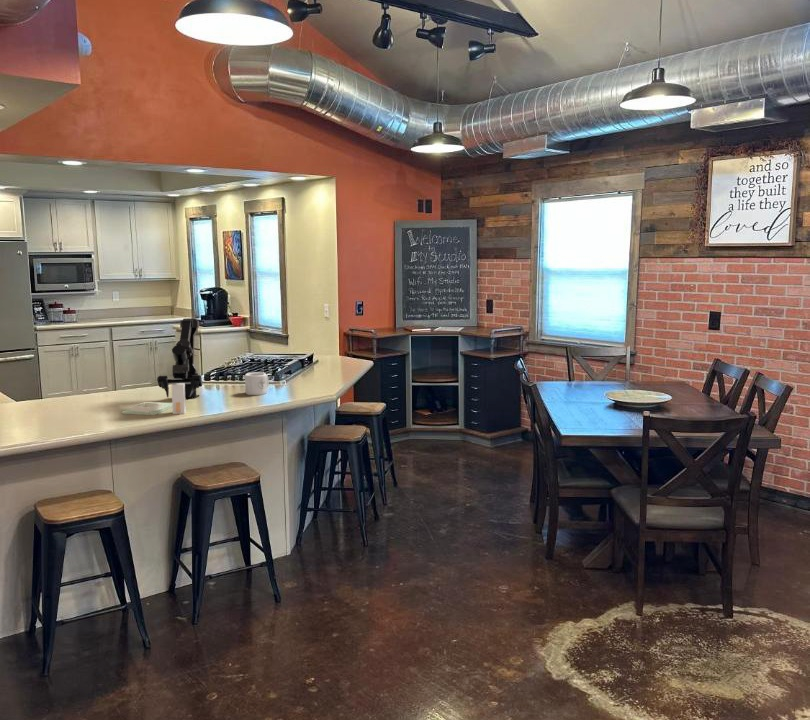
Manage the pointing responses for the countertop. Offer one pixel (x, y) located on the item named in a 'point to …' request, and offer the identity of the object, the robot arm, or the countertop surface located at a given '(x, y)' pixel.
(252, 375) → the mug
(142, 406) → the white square frame
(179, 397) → the plug
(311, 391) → the countertop surface
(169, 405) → the board
